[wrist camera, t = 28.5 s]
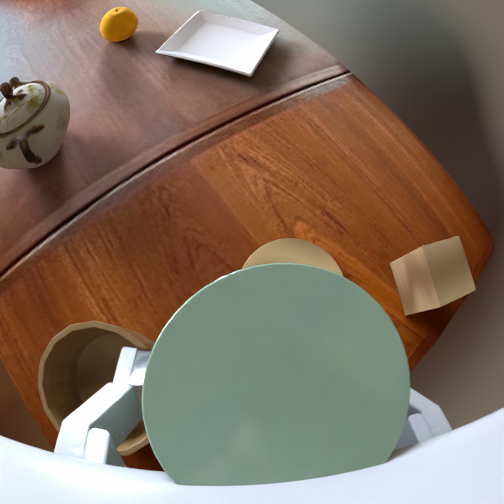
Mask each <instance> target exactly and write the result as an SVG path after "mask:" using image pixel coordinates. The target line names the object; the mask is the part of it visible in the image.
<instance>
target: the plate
mask: <svg viewBox="0 0 504 504" xmlns="http://www.w3.org/2000/svg"><path fill="white" fill-rule="evenodd" d="M279 32H280V31H279V30H278V29H275V28H271V27H268V26H265V25H261V24H257V23H254V22H250V21H246V20H242V19H238V18H234V17H230V16H225V15H220V14H216V13H211V12H206V11H198V12H197V13H196V14H195V15H193V16H192V17H191V18H190V19H189V20H188V21H187V22H186V23H185V24H184V25H183V26H181V27H180V28H179V29H178V30H177V31H176V32H175V33H174V34H173V35H172V36H171V37H170V38H169V39H168V40H167V41H166V42H165V43H164V44H163V45H162V46H161V47H160V48H159V49H158V50H157V51H156V53H157V54H160V55H166V56H170V57H175V58H180V59H184V60H189V61H193V62H197V63H201V64H205V65H209V66H213V67H217V68H220V69H224V70H228V71H231V72H235V73H238V74H241V75H245V76H248V77H249V76H252V74H253V73H254V71H255V69H256V68H257V66H258V64H259V63H260V61H261V60H262V58H263V56H264V55H265V53H266V52H267V50H268V49H269V47H270V45H271V44H272V42H273V41H274V39H275V38H276V36H277V35H278V33H279Z"/></svg>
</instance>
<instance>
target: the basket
mask: <svg viewBox="0 0 504 504" xmlns="http://www.w3.org/2000/svg"><path fill="white" fill-rule="evenodd" d="M154 344H155V342H153V341H152V340H150V339H149V338H148V337H146V336H144V335H143V334H141V333H140V332H137V331H133V330H129V329H125V328H122V327H118V326H113V325H109V324H105V323H101V322H98V321H90V322H85V323H79V324H73V325H70V326H69V327H67V328H66V329H64V330H63V331H62V332H60V333H59V334H58V335H56V336H55V337H53V338H52V339H51V341H50V343H49V345H48V346H47V348H46V350H45V352H44V354H43V356H42V357H41V360H40V367H39V376H38V388H39V392H40V397H41V401H42V404H43V408H44V411H45V412H46V414H47V415H48V417H49V419H50V420H51V422H52V423H53V425H54V426H55V428H56V429H57V431H58V432H60V428H61V425H62V422H63V420H64V419H65V418H67V417H68V416H69V415H70V414H71V413H73V412H74V411H75V410H76V409H77V408H79V407H80V406H81V405H82V404H83V403H85V402H86V401H87V400H88V399H89V398H91V397H92V396H93V395H94V394H95V393H97V392H98V391H99V390H100V389H101V388H103V387H104V386H105V385H106V384H107V383H113V380H114V376H115V372H116V368H117V364H118V360H119V357H120V353H121V350H122V348H123V347H131V348H142V349H153V346H154ZM149 443H150V442H149V440H148V437H147V434H146V429H145V425H144V421H143V417H142V420H141V421H140V422H139V423H138V425H137V426H136V427H135V428H134V429H133V430H132V432H131V433H130V434H129V435H128V436H127V438H126V439H125V440H124V441H123V442H122V444H121V445H120V446H119V447H118V448H117V450H118V451H119V453H120V455H121V456H125V455H130V454H132V453H134V452H136V451H137V450H139V449H141V448H142V447H144V446H146V445H147V444H149Z"/></svg>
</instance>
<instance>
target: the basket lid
mask: <svg viewBox="0 0 504 504" xmlns="http://www.w3.org/2000/svg"><path fill="white" fill-rule="evenodd" d="M270 263H296V264H304V265H310V266H314V267H318V268H322V269H326V270H328V271H331V272H333V273H336V274H338V275H341V276H342V277H343V274H342V272H341V270H340V268H339V266H338V265H337V263H336V262H335V260H334V259H333V258H332V257H331V256H330V255H329V254H328V253H327V252H326V251H325V250H323V249H322V248H320V247H319V246H317V245H315V244H313V243H311V242H308V241H305V240H301V239H294V238H286V239H279V240H275V241H272V242H270V243H267V244H265V245H263V246H262V247H260V248H259V249H258V250H256V251H255V252H254V253H253V254H252V255H251V256H250V257H249V258H248V260H247V261H246V263H245V264H244V266H243V268H242V269H245V268H248V267H252V266H256V265H263V264H270Z"/></svg>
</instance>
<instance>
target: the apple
mask: <svg viewBox="0 0 504 504" xmlns="http://www.w3.org/2000/svg"><path fill="white" fill-rule="evenodd" d="M137 25H138V19H137V16H136V14H135V13H134V12H133V11H132V10H130V9H128V8H125V7H119V8H115V9H112V10H111V11H109V12H108V13H107V14H106V15H105V16H104V17H103V19H102V21H101V24H100V30H101V34H102V36H103V37H104V38H105V39H107V40H109V41H112V42H117V41H122V40H125V39H127V38H129V37H130V36H131V35H133V33H134V32H135V31H136V28H137Z"/></svg>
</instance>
